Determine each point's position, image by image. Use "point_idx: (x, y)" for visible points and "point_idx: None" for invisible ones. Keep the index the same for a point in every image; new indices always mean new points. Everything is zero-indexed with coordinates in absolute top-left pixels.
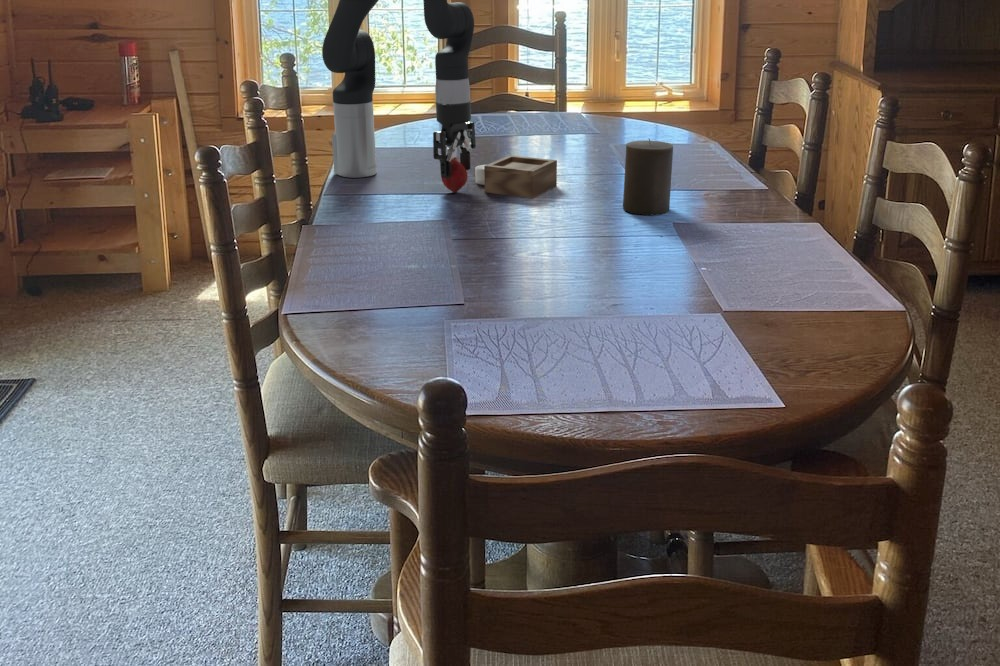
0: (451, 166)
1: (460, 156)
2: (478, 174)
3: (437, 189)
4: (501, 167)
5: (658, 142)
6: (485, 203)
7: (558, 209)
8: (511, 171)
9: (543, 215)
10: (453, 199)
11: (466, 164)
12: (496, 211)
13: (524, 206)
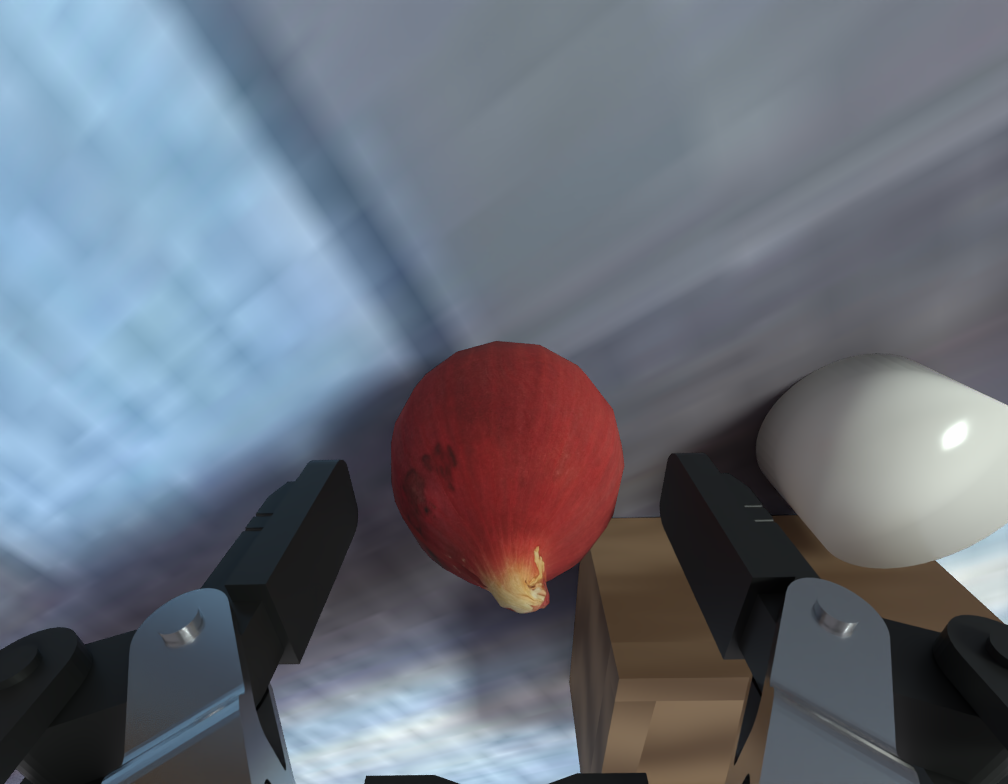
0: (426, 544)
1: (731, 544)
2: (813, 446)
3: (527, 233)
4: (613, 749)
5: None
6: (400, 595)
7: (475, 757)
8: (596, 763)
9: (387, 752)
10: (365, 458)
11: (679, 534)
12: (326, 661)
13: (449, 695)
